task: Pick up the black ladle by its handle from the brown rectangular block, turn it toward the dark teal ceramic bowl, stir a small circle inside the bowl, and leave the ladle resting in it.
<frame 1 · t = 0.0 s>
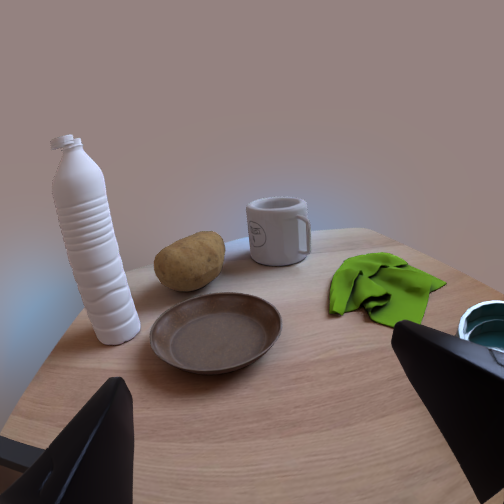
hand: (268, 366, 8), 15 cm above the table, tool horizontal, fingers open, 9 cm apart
mug: (284, 257, 54), on the table
cloth: (382, 289, 40), on the table
saucer: (218, 343, 33), on the table
potato: (197, 284, 47), on the table
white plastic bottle: (119, 337, 35), on the table
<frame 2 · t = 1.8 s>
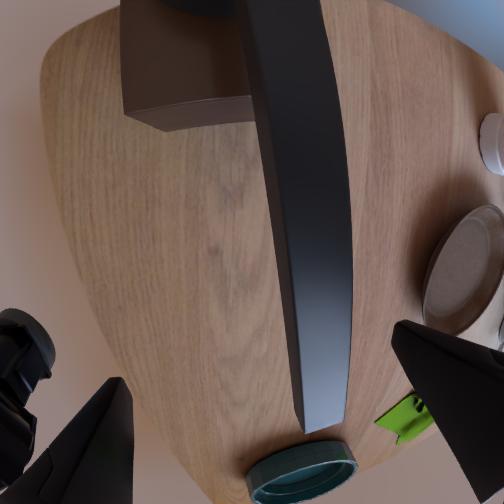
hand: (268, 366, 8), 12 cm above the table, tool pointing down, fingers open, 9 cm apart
bowl: (298, 465, 33), on the table
cloth: (430, 401, 35), on the table
saucer: (456, 266, 25), on the table
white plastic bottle: (487, 143, 21), on the table
brown rectangular block: (208, 80, 16), on the table
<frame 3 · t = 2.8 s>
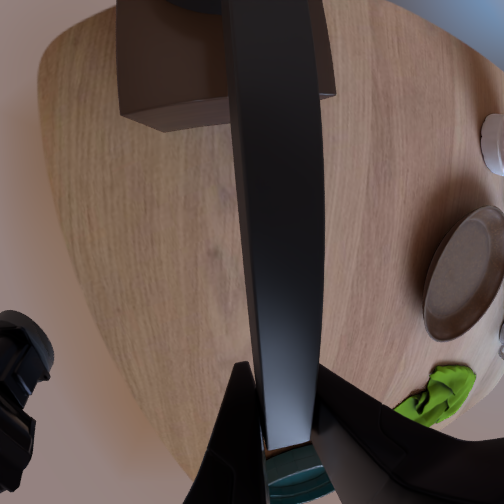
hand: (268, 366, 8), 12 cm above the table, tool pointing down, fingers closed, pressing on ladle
bowl: (298, 467, 33), on the table
cloth: (430, 402, 34), on the table
saucer: (457, 268, 25), on the table
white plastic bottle: (488, 144, 21), on the table
brown rectangular block: (207, 79, 15), on the table
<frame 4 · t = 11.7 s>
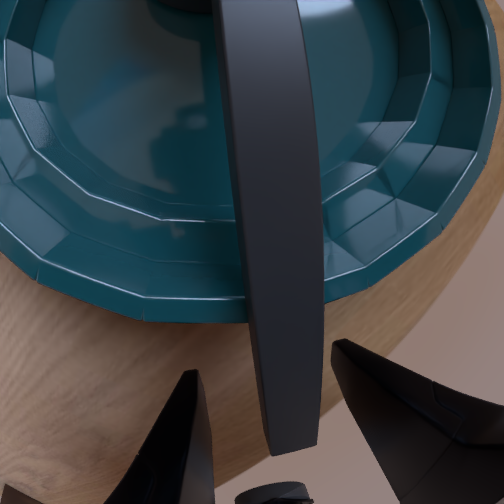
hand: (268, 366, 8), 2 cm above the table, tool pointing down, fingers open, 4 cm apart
bowl: (221, 17, 7), on the table
brown rectangular block: (25, 499, 15), on the table
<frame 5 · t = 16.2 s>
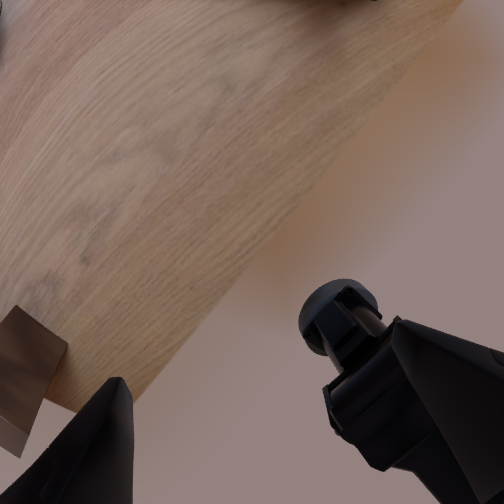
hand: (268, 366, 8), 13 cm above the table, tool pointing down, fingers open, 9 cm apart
brown rectangular block: (33, 343, 20), on the table
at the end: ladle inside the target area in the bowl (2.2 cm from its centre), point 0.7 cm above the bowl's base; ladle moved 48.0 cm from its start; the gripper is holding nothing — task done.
